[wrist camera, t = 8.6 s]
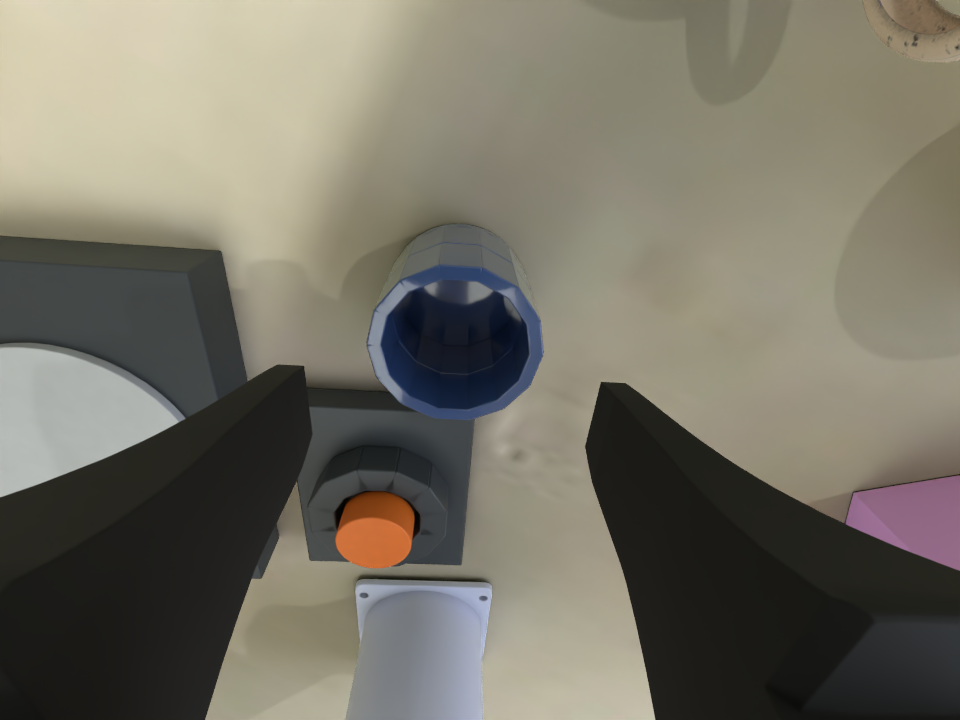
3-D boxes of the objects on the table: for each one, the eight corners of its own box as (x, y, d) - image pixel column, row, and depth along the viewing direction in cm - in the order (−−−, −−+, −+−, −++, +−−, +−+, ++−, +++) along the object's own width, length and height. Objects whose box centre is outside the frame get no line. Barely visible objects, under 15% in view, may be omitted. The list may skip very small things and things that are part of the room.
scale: (279, 537, 25) (258, 586, 23) (49, 530, 24) (1, 579, 22) (221, 250, 17) (179, 276, 15) (-120, 227, 17) (-225, 250, 14)
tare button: (414, 540, 22) (411, 570, 20) (346, 538, 21) (337, 567, 20) (415, 491, 20) (411, 519, 19) (341, 488, 20) (331, 516, 19)
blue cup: (518, 352, 20) (532, 423, 15) (391, 345, 20) (369, 416, 15) (534, 228, 17) (557, 272, 13) (388, 218, 17) (361, 258, 13)
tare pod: (461, 543, 26) (461, 593, 23) (316, 539, 25) (299, 589, 23) (474, 395, 21) (475, 438, 18) (295, 386, 20) (269, 428, 18)
